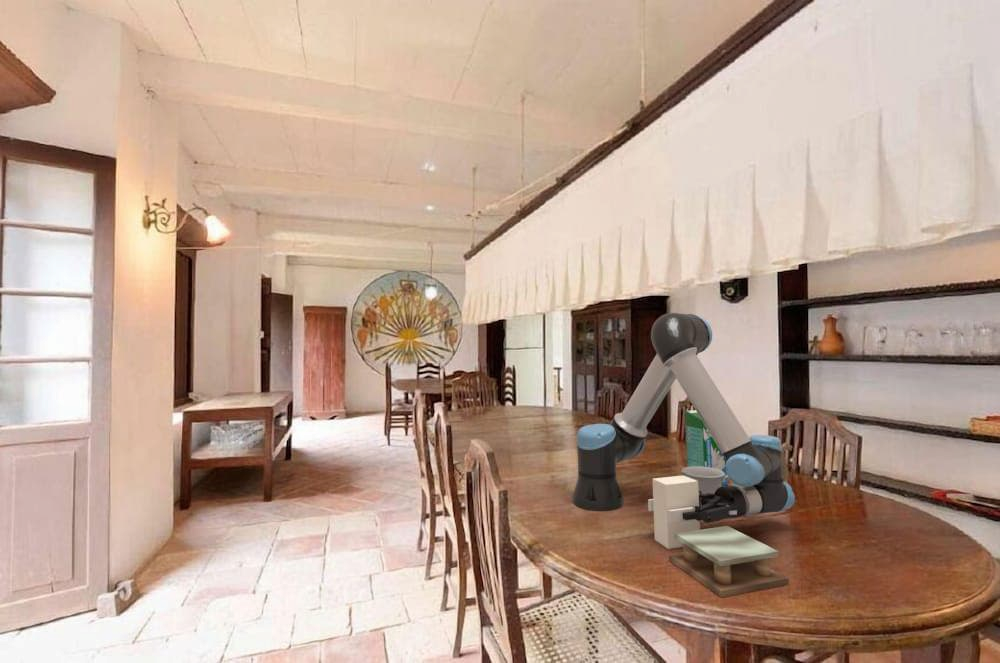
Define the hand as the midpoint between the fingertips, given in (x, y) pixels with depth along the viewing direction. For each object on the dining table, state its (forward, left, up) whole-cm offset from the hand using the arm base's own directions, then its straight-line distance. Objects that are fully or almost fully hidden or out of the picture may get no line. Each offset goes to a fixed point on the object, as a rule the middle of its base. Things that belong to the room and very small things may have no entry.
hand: (658, 510), depth 111 cm
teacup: (-19, +30, -8) cm, 36 cm away
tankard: (-24, +58, -8) cm, 63 cm away
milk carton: (-38, +45, -8) cm, 59 cm away
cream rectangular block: (0, +5, -8) cm, 9 cm away
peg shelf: (+16, +5, -8) cm, 19 cm away
